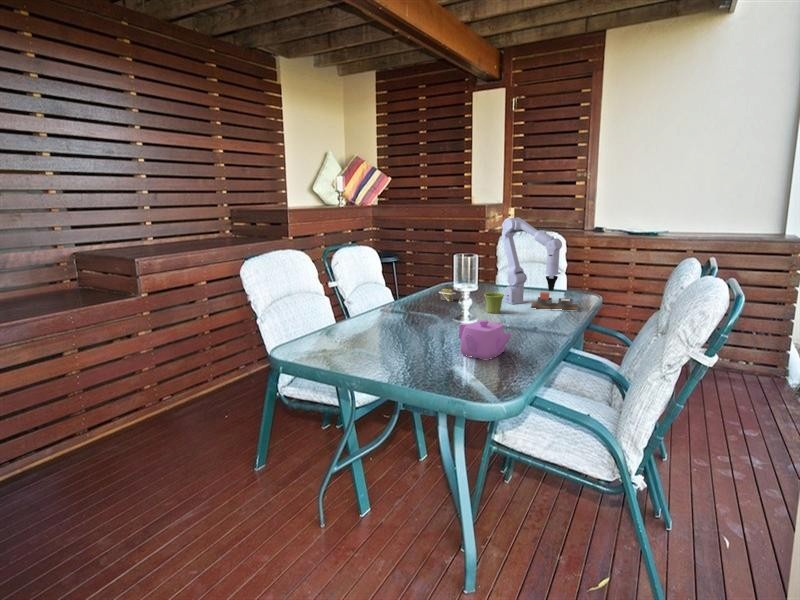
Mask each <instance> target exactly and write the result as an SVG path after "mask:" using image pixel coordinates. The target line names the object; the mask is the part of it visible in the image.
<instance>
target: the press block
mask: <svg viewBox="0 0 800 600" xmlns="http://www.w3.org/2000/svg"><path fill="white" fill-rule="evenodd" d="M561 299H566V298H564V297H560V298H558V301H557V302H552V301H553V298H552V297H549V300H545V299H540V296H537V301H532V303H531V305H530V309H531V308H536V309H535V310H539V309H562V310H578V311H579V304H578V303H573V302H574V301H573V299H574V298H569V299H570V301H561Z"/></svg>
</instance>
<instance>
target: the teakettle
mask: <svg viewBox="0 0 800 600" xmlns="http://www.w3.org/2000/svg"><path fill="white" fill-rule="evenodd" d="M512 337H513V334H512V333H510V332H506V333H505V330H504V325H503V324H501V323H500V322H498V321H497V322H496V321H493V322H489V320H487V319H479V321H475V322H472V323H466V322H465V323H463V322H461V323H460V324H459V330H458V339H460V347H459V348H460V354H461V355H462V354H463V355H467V356H472V357H475V358H481V359H490V358H493V357H495V356H498V355H499V354H501V353H502V352H504V353H505V350H506V345H507V343H508V342H509V340H510V339H511V338H512ZM463 355H462V356H463ZM501 355H502V354H501ZM467 356H466V357H467ZM498 357H499V356H498ZM475 358H474V359H475ZM493 359H494V358H493Z"/></svg>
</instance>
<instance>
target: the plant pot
mask: <svg viewBox="0 0 800 600" xmlns="http://www.w3.org/2000/svg"><path fill="white" fill-rule="evenodd" d="M504 296H505V293H500V292H487V293H486V292H485V293H484V298H485V301H486V312H487V313H490V314H500V312H501V308H502V303H503V299H504Z"/></svg>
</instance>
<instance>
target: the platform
mask: <svg viewBox="0 0 800 600" xmlns="http://www.w3.org/2000/svg"><path fill="white" fill-rule="evenodd" d="M438 293H439V294H440V300H442V301H443V300H444V301H447V302H454V295H456V292H454V291H453V290H452V289H448V288H442V289H441V290H438Z"/></svg>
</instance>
